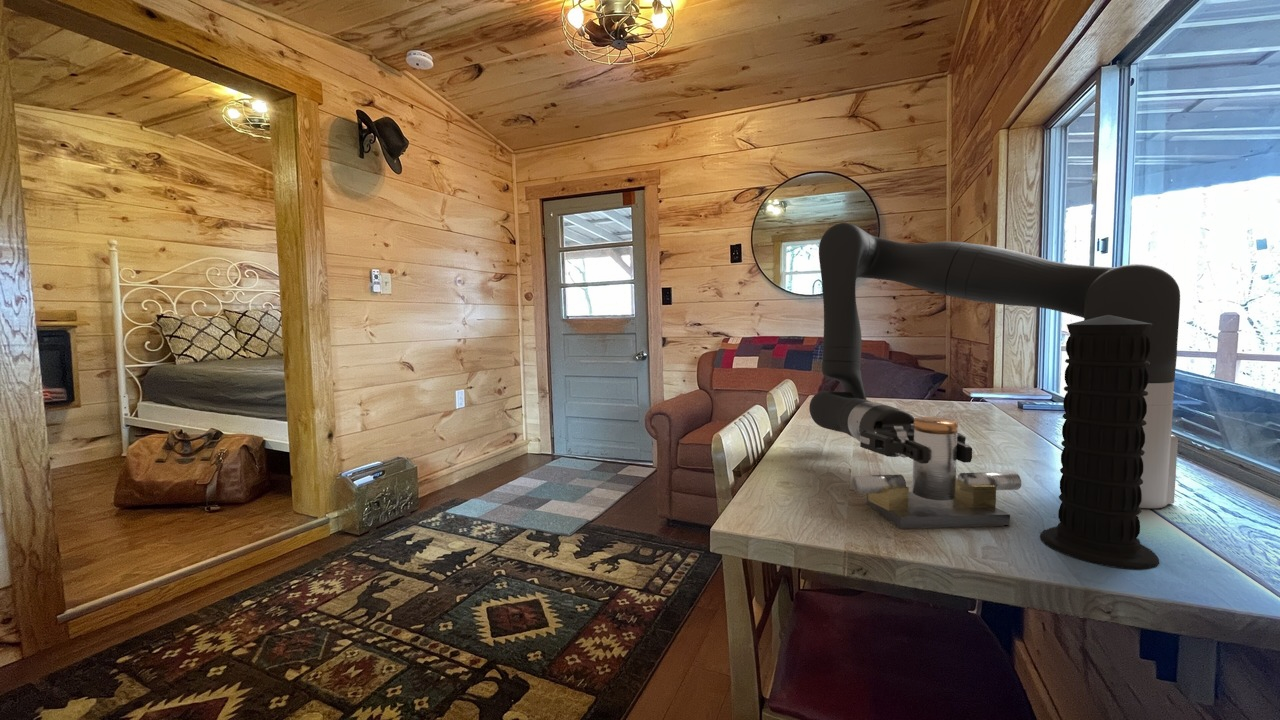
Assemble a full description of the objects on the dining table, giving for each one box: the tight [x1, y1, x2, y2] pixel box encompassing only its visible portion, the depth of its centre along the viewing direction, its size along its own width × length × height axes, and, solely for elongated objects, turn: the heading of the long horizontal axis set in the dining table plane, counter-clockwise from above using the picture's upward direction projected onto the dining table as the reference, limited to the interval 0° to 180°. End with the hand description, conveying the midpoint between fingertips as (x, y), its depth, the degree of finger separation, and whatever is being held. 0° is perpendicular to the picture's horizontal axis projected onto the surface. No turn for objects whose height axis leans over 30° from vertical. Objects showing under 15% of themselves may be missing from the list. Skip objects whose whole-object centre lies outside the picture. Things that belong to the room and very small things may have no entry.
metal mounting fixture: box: [852, 471, 1022, 530], centre depth 67 cm, size 22×9×6 cm, turn 91°
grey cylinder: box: [911, 416, 959, 501], centre depth 67 cm, size 5×5×10 cm
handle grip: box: [1039, 315, 1161, 570], centre depth 56 cm, size 10×26×10 cm
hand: (947, 455), depth 64 cm, fingers closed on grey cylinder, 5 cm apart
